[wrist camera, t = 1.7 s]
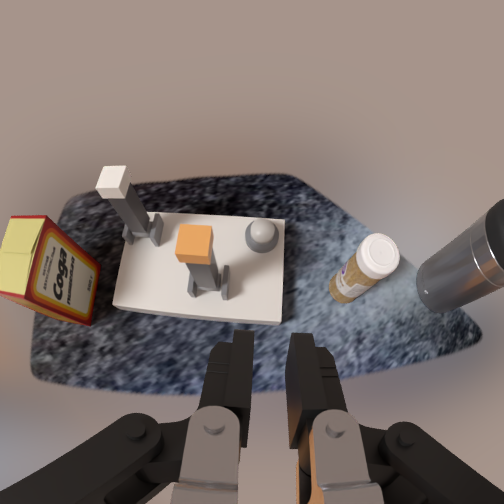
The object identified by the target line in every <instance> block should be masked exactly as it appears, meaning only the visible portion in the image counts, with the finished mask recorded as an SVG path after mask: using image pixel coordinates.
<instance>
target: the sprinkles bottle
mask: <svg viewBox="0 0 504 504" xmlns="http://www.w3.org/2000/svg"><path fill="white" fill-rule="evenodd" d="M399 260H400V254H399V250H398V247H397V245H396V244H395V242H394V241H393V240H392V239H391V238H390V237H388V236H386V235H384V234H380V233H375V234H371V235H369V236H367V237H366V238H365V239H364V240H363V241H362V242H361V244H360V245H359V247H358V249H357V251H356V253H355V254H354V255H353V256H352V257H351V258H350V259H349V260H348V261H347V262H346V263H345V265H344V266H343V267H342V268H341V269H340V270H339V271H338V273H337V274H335V275H334V276H333V277H332V279H331V280H330V283H329V291H330V293H331V296H332V297H333V298H334V299H335V300H336V301H338V302H340V303H350V302H352V301H353V300H354V299H355V298H356V297H358V296H360V295H361V294H363V293H364V292H365V291H367V290H368V289H369V288H371V287H372V286H373V285H375V284H376V283H377V282H378V281H379V280H380V279H383V278H385V277H387V276H388V275H389V274H391V273H392V272H393V271H394V270H395V269H396V268H397V266H398V264H399Z"/></svg>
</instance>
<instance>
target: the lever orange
mask: <svg viewBox="0 0 504 504" xmlns="http://www.w3.org/2000/svg"><path fill="white" fill-rule="evenodd" d="M213 240H214V234H213V229H212V226H208V225H191V224H180V227H179V232H178V238H177V243H176V249H175V255H176V257H177V259H178V261H179V262H181V263H185V264H186V266H187V268H188V269H189V271H190V273H191V275H192V277H193V279H194V281H195V282H196V284H197V288H198V290H206V291H218V292H220V288H221V273H218V271H219V270H218V267H217V263H216V259H215V255H214V251H213Z"/></svg>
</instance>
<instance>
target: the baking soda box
mask: <svg viewBox="0 0 504 504" xmlns="http://www.w3.org/2000/svg"><path fill="white" fill-rule="evenodd" d="M100 269H101V264H99V263H98V262H97V261H96V260H95V259H94V258H92V257H91V256H90V255H89V254H88V253H87V252H86V251H84V250H83V249H82V248H81V247H80V246H79V245H78V244H77V243H75V242H74V241H73V240H72V239H71V238H70V237H69V236H68V235H67V234H66V233H64V232H63V231H62V230H61V229H60V228H59V227H58V226H57V225H56V224H55V223H54V222H53V221H52V220H51V219H50V218H49V217H48V216H47V215H35V216H34V215H32V216H11V219H10V221H9V224H8V227H7V230H6V233H5V236H4V240H3V242H2V246H1V249H0V296H2V297H4V298H7V299H8V300H11V301H13V302H16V303H17V304H20V305H22V306H24V307H27V308H29V309H31V310H34V311H36V312H39V313H41V314H44V315H46V316H49V317H51V318H54V319H57V320H61V321H65V322H70V323H75V324H81V325H86V326H91V319H92V313H93V306H94V300H95V295H96V289H97V284H98V279H99V274H100Z"/></svg>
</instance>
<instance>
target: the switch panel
mask: <svg viewBox="0 0 504 504" xmlns="http://www.w3.org/2000/svg"><path fill="white" fill-rule="evenodd" d="M147 214H148V215H149V217H150V220H149V221H153V224H152V228H151V233H150V237H149V238H147V237H134V236H133V235H132V232H131V231H130V229H129V228H128V227H127V225H126V224H125V227H124V230H123V234H122V237H123V238H124V239H125V240H126V241H125V246H124V250H123V254H122V259H121V263H120V268H119V272H118V277H117V282H116V287H115V293H114V298H113V304H112V305H114V306H115V307H117V308H119V309H121V310H127V311H134V312H141V313H149V314H157V315H165V316H173V317H182V318H191V319H201V320H212V321H223V322H235V323H249V324H264V325H279V324H280V323H281V316H282V292H283V263H284V223H285V220H280V219H266V218H252V217H236V216H220V215H201V214H181V213H158V212H147ZM180 224H191V225H208V226H212V229H213V234H214V240H213V251H214V255H215V259H216V263H217V267H218V270H219V271H218V273H221V288H220V292H218V291H206V290H198V288H197V284H196V282H195V281H194V279H193V277H192V275H191V273H190V271H189V269H188V268H187V266H186V264H185V263H181V262H179V261H178V259H177V257H176V255H175V249H176V243H177V238H178V232H179V227H180Z"/></svg>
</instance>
